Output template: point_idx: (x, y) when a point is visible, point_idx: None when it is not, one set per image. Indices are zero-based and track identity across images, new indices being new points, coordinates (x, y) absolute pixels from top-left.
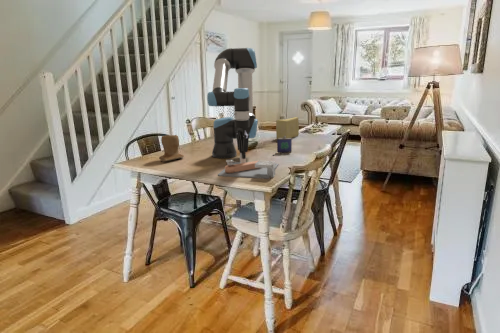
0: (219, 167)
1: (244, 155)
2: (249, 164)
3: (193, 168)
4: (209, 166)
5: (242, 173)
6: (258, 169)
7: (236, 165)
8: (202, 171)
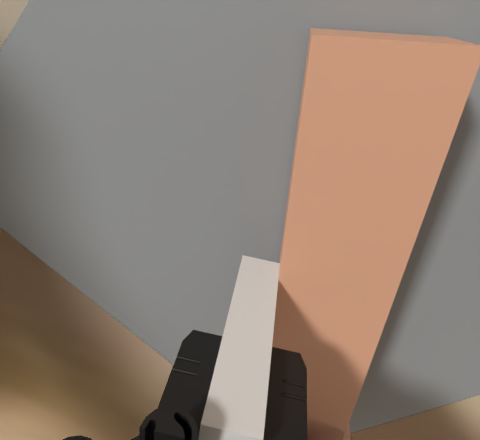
0: (72, 334)
1: (303, 423)
2: (394, 296)
3: (30, 429)
4: (13, 360)
5: (421, 357)
6: (458, 150)
7: (316, 405)
8: (125, 435)
